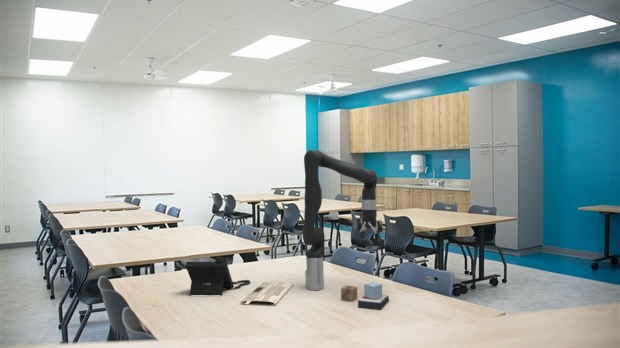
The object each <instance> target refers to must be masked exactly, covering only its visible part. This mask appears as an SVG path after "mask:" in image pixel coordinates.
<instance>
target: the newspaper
mask: <svg viewBox="0 0 620 348" xmlns="http://www.w3.org/2000/svg"><path fill="white" fill-rule="evenodd" d="M293 286H294V283H292V282H291V281H283V280H282V281H281V280H279V281H277V280H276V281H275V280H274V281H270V280H267V281H263V282H262V283H261V284H260V285H258V286H257V287H256V288H255V289H253V291H252V292H250V293H248V295H247V296H245V298H243V299H242V300H241V301H240V304H241V305H246V304H245V303H246V302H247V301H253V302H270V303H271V306H276V305H277V304H278V303H279V302H280V301H281V300H282V298H284V296H285V295H286V294H287V293H288V292H289V291H290V289H291V288H292V287H293ZM272 303H273V304H272Z"/></svg>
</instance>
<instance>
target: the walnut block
mask: <svg viewBox="0 0 620 348" xmlns="http://www.w3.org/2000/svg"><path fill="white" fill-rule="evenodd" d="M340 300H341V301H344V302H350V303H353V302H355V301H357V300H358V286H355V285H354V286H353V285H344V286H343V287H341V288H340Z"/></svg>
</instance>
